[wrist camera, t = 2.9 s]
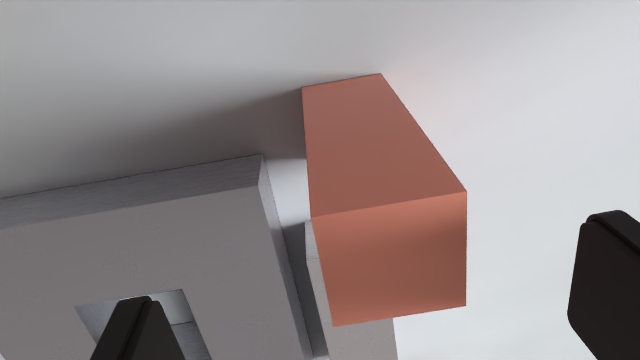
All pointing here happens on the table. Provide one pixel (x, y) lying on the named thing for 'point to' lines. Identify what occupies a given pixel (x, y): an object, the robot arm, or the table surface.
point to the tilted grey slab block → (355, 339)
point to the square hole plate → (151, 263)
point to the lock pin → (381, 205)
